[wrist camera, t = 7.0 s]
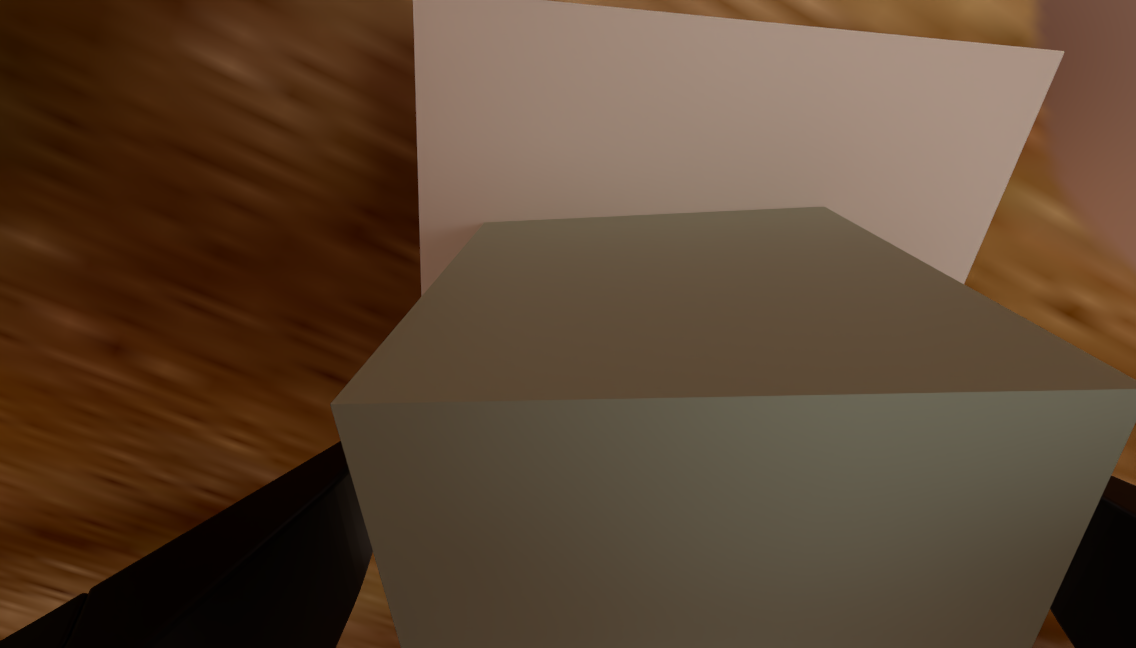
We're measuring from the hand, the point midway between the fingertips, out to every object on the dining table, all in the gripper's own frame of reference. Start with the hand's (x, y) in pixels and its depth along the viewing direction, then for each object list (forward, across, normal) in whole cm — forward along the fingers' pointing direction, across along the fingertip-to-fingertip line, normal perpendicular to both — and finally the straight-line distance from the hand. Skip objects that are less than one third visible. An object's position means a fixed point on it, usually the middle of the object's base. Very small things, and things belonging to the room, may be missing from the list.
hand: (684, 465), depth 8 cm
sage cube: (+3, 0, 0) cm, 3 cm away
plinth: (+7, 0, 0) cm, 7 cm away
